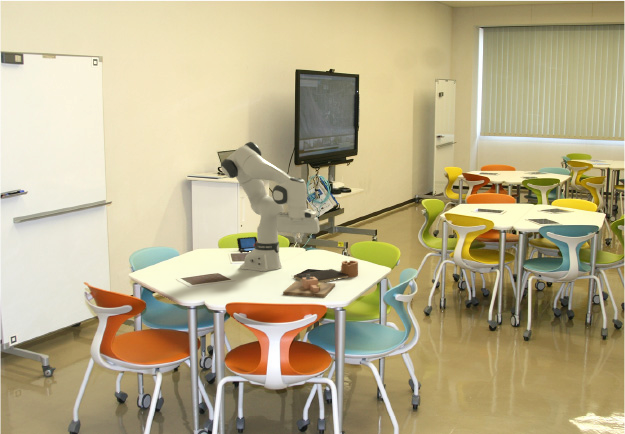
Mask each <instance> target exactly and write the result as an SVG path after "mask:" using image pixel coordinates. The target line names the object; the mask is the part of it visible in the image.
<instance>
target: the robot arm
mask: <svg viewBox="0 0 625 434" xmlns="http://www.w3.org/2000/svg"><path fill="white" fill-rule="evenodd" d="M220 168H221V170H222V173H223V174H224V175H225V176H227V177H228V178H230V179H234V178H236V180H237V182H238V183H239V185H240V187H241V188H242V190H243V191H244V193H245V194H246V197H247V198H248V200H249V203H250V208H251V210H252V211H253V212H254V213H255V214H256V215H259V216H260V221H259V225H258V226H257V228H256V229H257V231H256V233H257V237H256V238H257V242H256V243H254V244H253V245H254V247H255V249H254V250H252V251H251V252H248V253H246V255H245V257H244V261H243V263H242V264H241V265H240V266H239V269H241V270H249V271H255V272H256V271H258V272H267V271H273V270H274V271H275V270H278V269H281V268H282V267H283V266H282V264H281V259H280V253H279V252H280V242H279V233H290V234H292V235H291V236H292V237H293V239H294V243H302V242H303V240H302V239H303V237H304V235H305V234H313V235H314V234H315V235H316V234H318V233H319V232H320V229H321V228H320V220H319V218H318V217H317V216H318V212H317V211H315V210H313V209H310V208H308V204H307V199H308V191H309V190H308V188H307V184H306V181H305V180H304V179H303V178H301V177H292V176H290V175H289V174H288V173H286V172H285V171H284V170H282V169H281V168H280V167H278V166H276V165H274V164H272V163H271V162H269V161H268V160H266V159H265V158H263V157H262V152H261V149H260V147H259V146H258V145H257V143H255V142H253V141H249V142H246V143H245V144H244V145H242V146H239V147H238V148H237V149H236V150H234V152H232V153H231V154H229V156H228V157H226V158H225V159H224V160H223V161H222V162H221V163H220ZM264 180H265V181H272V182H275V183H277V185H275V186H273V189H272V192H271V194H272V195H271V196H270V195H269V194H268V192H267V190H266V186H265V185H266V184H265V182H264ZM284 205H287V212H284ZM297 234H299V236H300V237H297Z"/></svg>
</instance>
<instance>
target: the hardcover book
mask: <svg viewBox="0 0 625 434" xmlns="http://www.w3.org/2000/svg"><path fill="white" fill-rule="evenodd" d="M306 274H310V277H315V278H316V279H318V282H321V283H329V282H331V281H330V280H334V279H338V278H345V279H348V278H349V277H348V276H349V275H348V274H345V273H342V272H341V271H339V270H336V269H333V268H330V269H324V270H323V269H322V270H317V271H312V272H311V271H310V272H305V273H299V274H294V275H293V279H295V280H296V281H302V278H305V277H306ZM334 281H335V280H334Z"/></svg>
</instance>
